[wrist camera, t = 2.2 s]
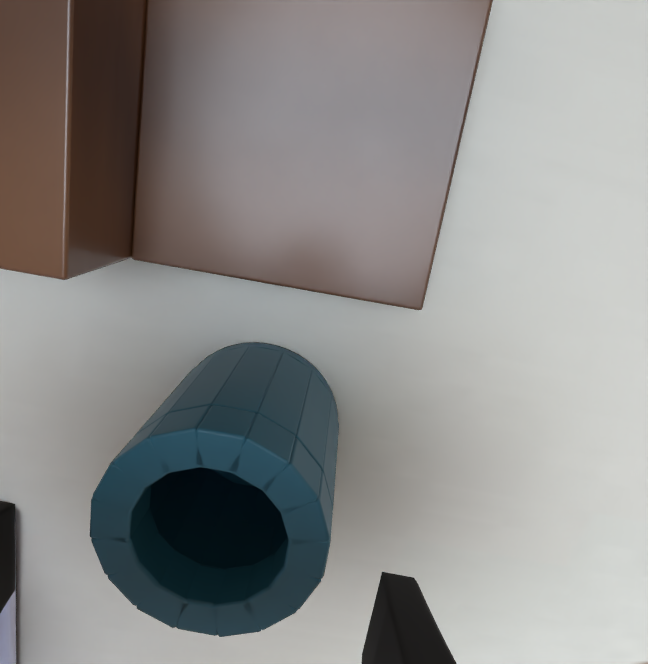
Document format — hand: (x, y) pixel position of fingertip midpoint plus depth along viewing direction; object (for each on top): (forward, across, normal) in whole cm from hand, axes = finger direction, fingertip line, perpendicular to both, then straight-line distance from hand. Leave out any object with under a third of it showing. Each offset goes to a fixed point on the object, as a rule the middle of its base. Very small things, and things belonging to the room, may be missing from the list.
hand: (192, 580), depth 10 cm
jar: (+7, 0, 0) cm, 7 cm away
